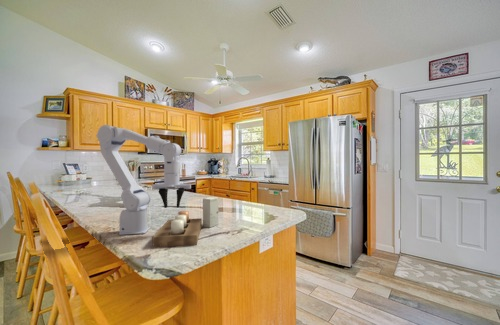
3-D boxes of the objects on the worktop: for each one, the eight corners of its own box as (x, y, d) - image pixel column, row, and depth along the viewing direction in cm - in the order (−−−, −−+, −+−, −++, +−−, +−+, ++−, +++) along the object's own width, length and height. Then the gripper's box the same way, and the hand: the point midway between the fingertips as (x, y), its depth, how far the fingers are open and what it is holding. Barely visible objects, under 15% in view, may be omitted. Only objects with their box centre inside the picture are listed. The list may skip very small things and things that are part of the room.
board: (153, 247, 71) (153, 237, 71) (168, 227, 93) (168, 219, 93) (196, 244, 73) (196, 235, 73) (201, 225, 95) (201, 218, 95)
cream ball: (174, 228, 80) (173, 217, 80) (176, 224, 85) (176, 214, 85) (185, 227, 81) (185, 217, 81) (187, 224, 85) (187, 214, 85)
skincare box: (210, 227, 92) (210, 199, 92) (202, 226, 94) (202, 198, 94) (219, 224, 97) (219, 197, 97) (211, 222, 99) (211, 196, 99)
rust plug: (177, 222, 87) (177, 213, 87) (179, 220, 92) (179, 210, 92) (188, 222, 88) (188, 212, 88) (189, 219, 92) (189, 210, 92)
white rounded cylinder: (169, 234, 74) (169, 222, 74) (172, 230, 78) (172, 219, 78) (182, 233, 74) (182, 222, 74) (184, 229, 78) (184, 219, 78)
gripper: (149, 173, 81) (149, 210, 81) (189, 173, 83) (189, 208, 83) (155, 172, 88) (155, 206, 88) (191, 172, 90) (191, 205, 90)
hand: (172, 207), depth 86 cm, fingers open, 4 cm apart
